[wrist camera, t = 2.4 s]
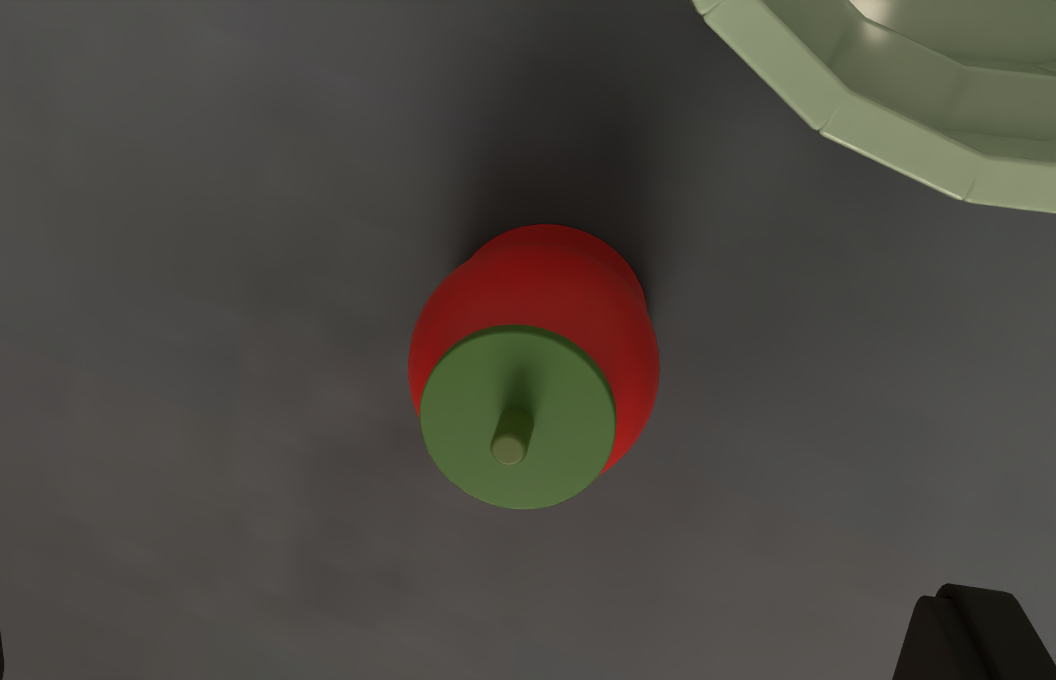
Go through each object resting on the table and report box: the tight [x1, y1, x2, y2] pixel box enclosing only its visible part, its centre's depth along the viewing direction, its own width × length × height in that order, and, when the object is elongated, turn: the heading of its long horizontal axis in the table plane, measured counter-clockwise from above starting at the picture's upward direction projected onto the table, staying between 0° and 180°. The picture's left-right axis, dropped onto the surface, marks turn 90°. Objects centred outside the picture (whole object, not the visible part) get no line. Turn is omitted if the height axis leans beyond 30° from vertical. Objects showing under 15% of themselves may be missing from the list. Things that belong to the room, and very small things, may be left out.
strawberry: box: [408, 224, 660, 509], centre depth 15 cm, size 4×4×5 cm
